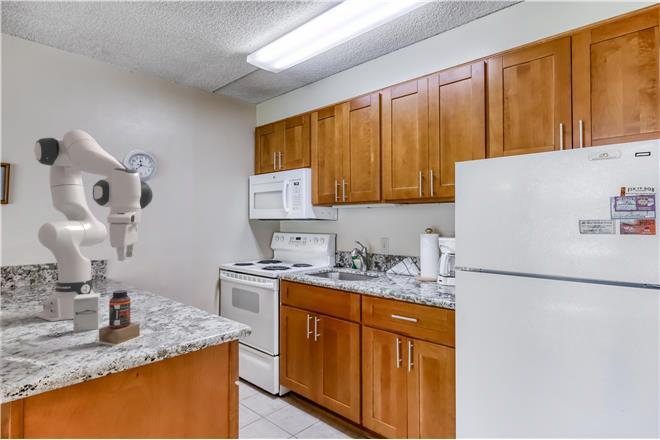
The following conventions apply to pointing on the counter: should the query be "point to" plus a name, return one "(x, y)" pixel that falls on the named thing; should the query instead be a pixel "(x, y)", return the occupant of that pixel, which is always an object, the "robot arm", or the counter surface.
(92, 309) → the supplement box
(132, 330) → the block
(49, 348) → the counter surface
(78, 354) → the counter surface
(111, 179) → the robot arm
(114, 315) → the supplement bottle
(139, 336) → the build board
